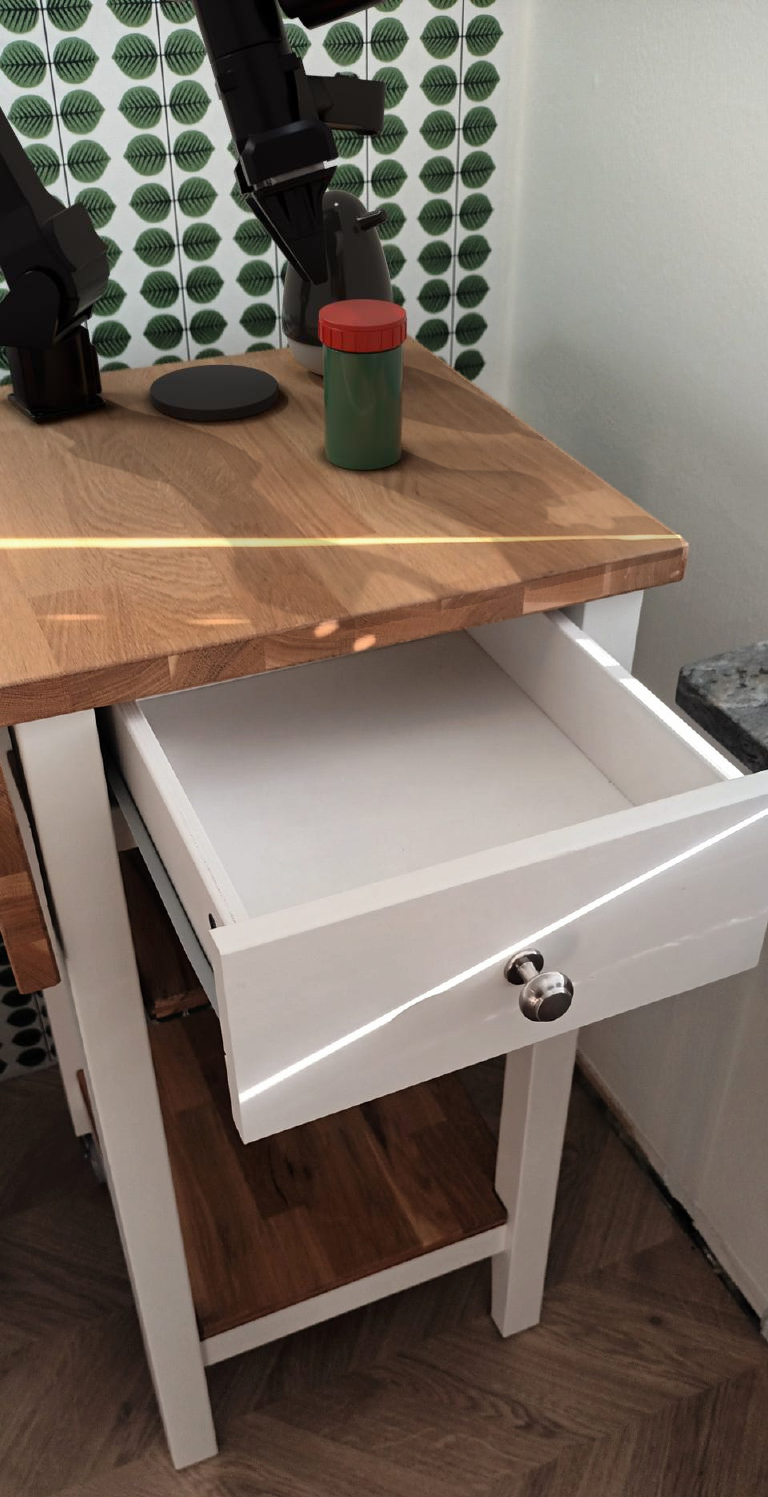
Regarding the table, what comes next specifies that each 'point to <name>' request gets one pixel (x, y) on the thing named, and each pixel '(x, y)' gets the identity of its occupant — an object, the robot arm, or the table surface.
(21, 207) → the robot arm
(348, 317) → the lid
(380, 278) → the pump dispenser
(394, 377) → the jar
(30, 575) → the table surface
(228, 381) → the coaster
